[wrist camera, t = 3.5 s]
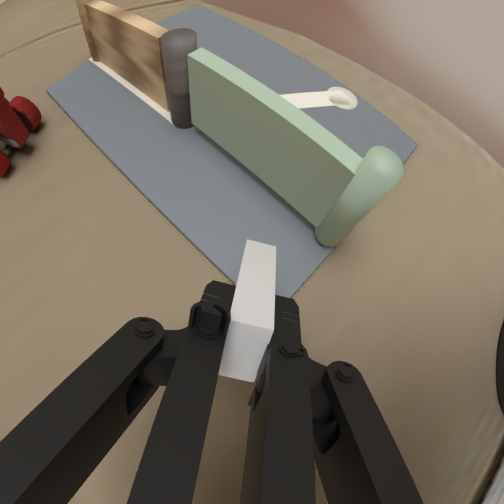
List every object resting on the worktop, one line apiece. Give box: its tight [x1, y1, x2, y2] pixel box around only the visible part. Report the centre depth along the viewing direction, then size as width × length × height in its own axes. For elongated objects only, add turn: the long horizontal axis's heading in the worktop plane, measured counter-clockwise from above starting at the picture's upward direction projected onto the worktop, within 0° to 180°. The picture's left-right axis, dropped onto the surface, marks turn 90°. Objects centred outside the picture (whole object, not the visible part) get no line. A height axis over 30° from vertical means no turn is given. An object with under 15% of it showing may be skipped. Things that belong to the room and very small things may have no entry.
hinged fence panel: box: [187, 47, 404, 247], centre depth 19 cm, size 14×2×9 cm, turn 47°
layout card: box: [46, 5, 418, 298], centre depth 26 cm, size 32×22×1 cm
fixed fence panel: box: [76, 0, 197, 129], centre depth 22 cm, size 17×2×10 cm, turn 47°
